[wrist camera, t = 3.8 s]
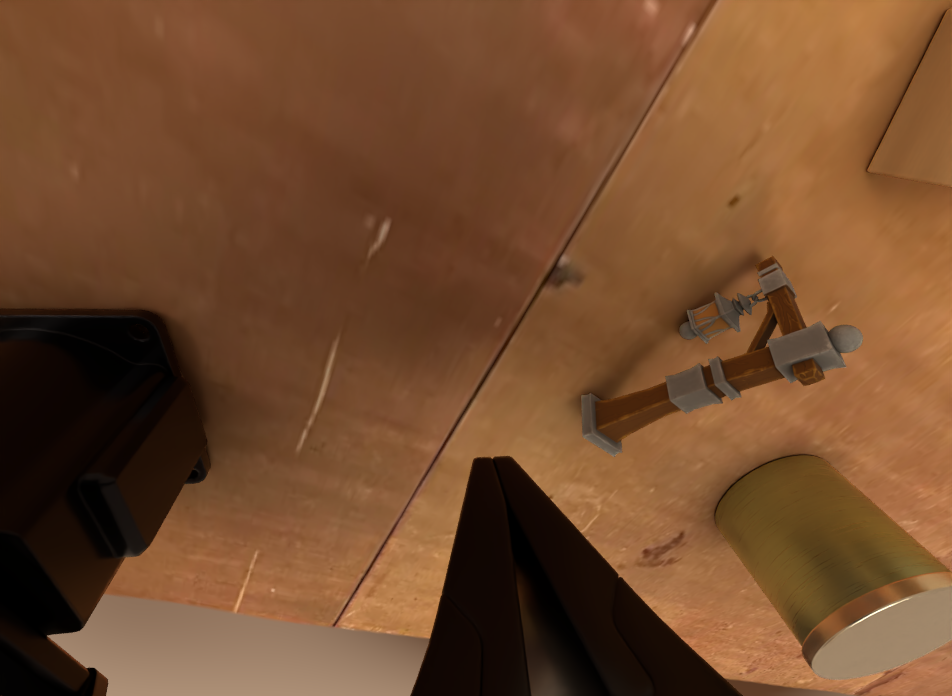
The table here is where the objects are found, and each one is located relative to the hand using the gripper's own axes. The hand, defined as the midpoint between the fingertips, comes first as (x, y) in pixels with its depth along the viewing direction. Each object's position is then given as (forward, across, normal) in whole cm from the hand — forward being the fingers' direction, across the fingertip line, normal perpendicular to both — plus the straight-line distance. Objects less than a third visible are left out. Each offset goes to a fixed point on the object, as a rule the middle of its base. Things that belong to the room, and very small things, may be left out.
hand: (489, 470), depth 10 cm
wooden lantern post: (+6, -7, 0) cm, 9 cm away
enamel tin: (+6, -16, +9) cm, 19 cm away
